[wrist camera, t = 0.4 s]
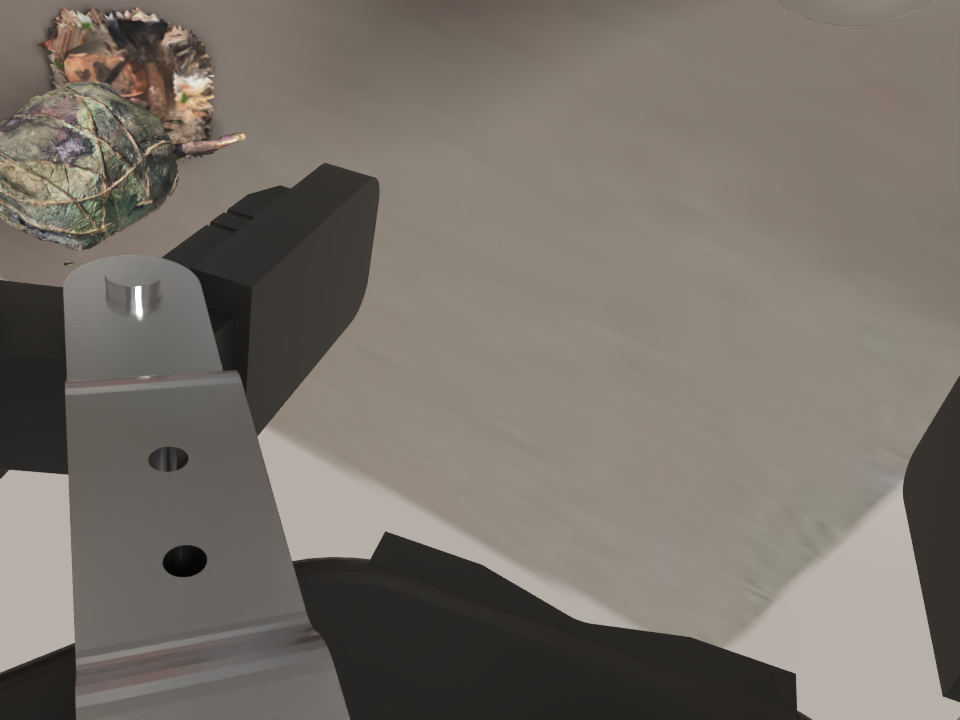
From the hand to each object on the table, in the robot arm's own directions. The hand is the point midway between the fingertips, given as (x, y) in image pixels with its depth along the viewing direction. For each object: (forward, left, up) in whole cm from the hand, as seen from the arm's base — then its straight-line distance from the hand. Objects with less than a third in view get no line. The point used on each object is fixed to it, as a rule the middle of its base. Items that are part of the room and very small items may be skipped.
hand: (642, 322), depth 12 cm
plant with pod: (+13, -23, -28) cm, 39 cm away
